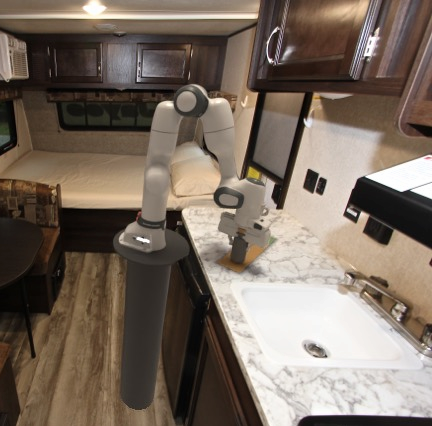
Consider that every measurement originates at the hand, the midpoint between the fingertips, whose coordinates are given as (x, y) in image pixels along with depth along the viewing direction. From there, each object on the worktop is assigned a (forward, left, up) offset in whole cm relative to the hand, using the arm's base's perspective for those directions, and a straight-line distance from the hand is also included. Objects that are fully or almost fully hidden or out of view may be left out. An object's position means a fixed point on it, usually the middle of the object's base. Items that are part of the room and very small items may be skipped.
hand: (239, 247), depth 122 cm
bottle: (0, 0, -6) cm, 6 cm away
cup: (+11, +44, -7) cm, 46 cm away
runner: (+4, +7, -7) cm, 10 cm away
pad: (+13, +25, -7) cm, 29 cm away
